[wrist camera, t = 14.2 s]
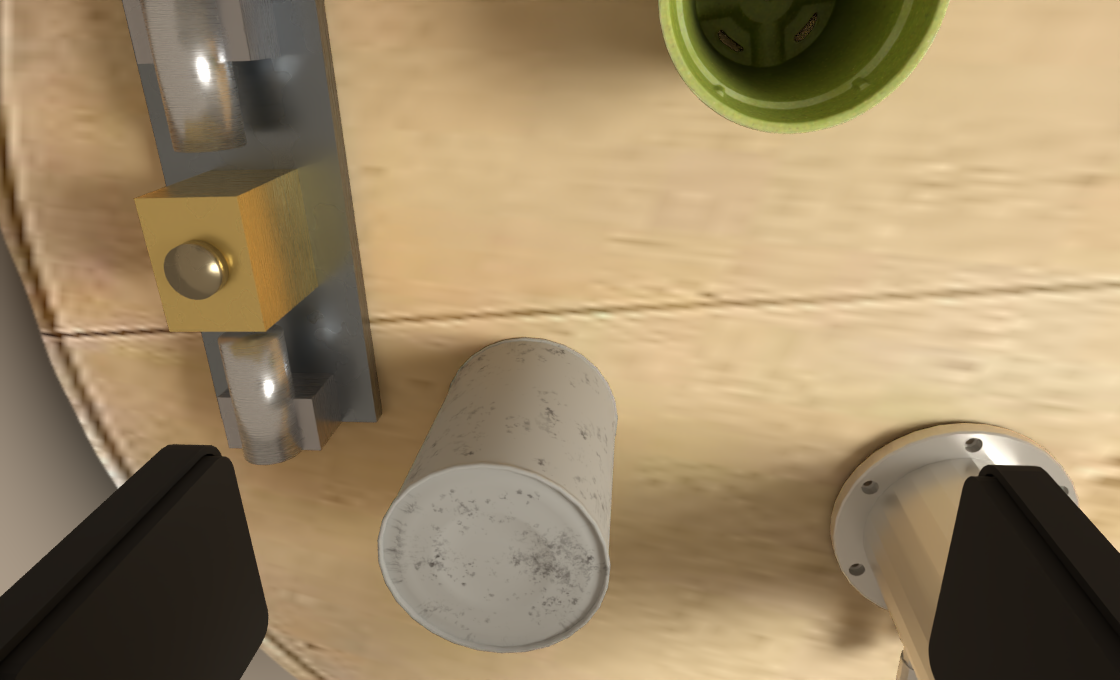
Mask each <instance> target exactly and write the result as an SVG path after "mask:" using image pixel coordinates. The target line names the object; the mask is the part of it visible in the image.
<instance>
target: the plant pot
mask: <svg viewBox="0 0 1120 680" xmlns="http://www.w3.org/2000/svg"><path fill="white" fill-rule="evenodd" d="M949 2H950V0H658V7H659V18H660V24H661V29H662V34H663V38H664V41H665V45H666V48H667V50H668V53H669V55H670V58H671V60H672V62H673V64H674V66H675V68H676V70H677V72H678V73H679V75H680V76H681V78H682V79H683V81H684V82H685V83H686V85H687V86H688V87H689V88H690V90H691V91H692V92H693V93H694V94H695V95H696V96H697V97H698V98H699V99H700V100H701V101H702V102H703V103H704V104H705V105H707V106H708V107H709V108H711V109H712V110H713V111H715V112H716V113H718V114H719V115H721V116H722V117H724V118H726V119H728V120H730V121H732V122H734V123H736V124H739V125H741V126H744V127H747V128H750V129H754V130H758V131H763V132H769V133H778V134H795V133H806V132H813V131H818V130H823V129H827V128H831V127H834V126H837V125H840V124H842V123H845V122H847V121H850V120H852V119H854V118H856V117H857V116H859V115H861V114H863V113H865V112H866V111H868V110H870V109H871V108H873V107H874V106H876V105H877V104H878V103H880V102H881V101H882V100H884V99H885V98H886V97H887V96H889V95H890V94H891V93H892V92H893V91H895V90H896V89H897V88H898V87H899V86H900V85H901V84H902V83H903V82H904V81H905V80H906V79H907V77H908V76H909V75H910V74H911V73H912V72H913V70H914V69H915V68H916V66H917V65H918V63H919V62H920V61H921V60H922V58H923V57H924V55H925V54H926V53H927V51H928V49H929V48H930V46H931V44H932V42H933V41H934V39H935V37H936V35H937V33H938V31H939V28H940V26H941V23H942V21H943V19H944V16H945V13H946V10H947V7H948V4H949ZM814 13H818V14H817V20H816V22H815V25H814V27H813V29H812V30H811V32H810V33H809V34H808V35H807V36H806V37H805V38H804V39H803V40H801V41H798V42H796V41H795V40H794V36H795V35H796V34H797V33H799V31H800V30H801V29H802V28H803V27H804V26H805V25H806V24H807V23H808V21H809V20H810V18H812V17H813V14H814ZM720 30H723V31H724V32H725V33H726V34H727V35H728V36H729V37H730V38H731V39H732V40H733V41H735V42H736V43H737V44H739V45H740V46H742V47H743V51H739V52H736V51H734V50H732V49H730V48H729V47H728V46H727V45H725V44H724V43H723V42H722V41H721V40H720V39H719V35H718V32H719V31H720Z"/></svg>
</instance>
